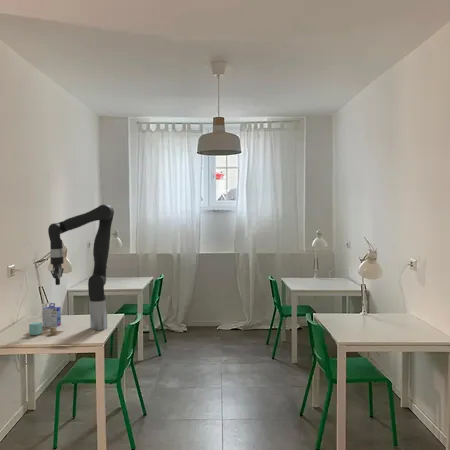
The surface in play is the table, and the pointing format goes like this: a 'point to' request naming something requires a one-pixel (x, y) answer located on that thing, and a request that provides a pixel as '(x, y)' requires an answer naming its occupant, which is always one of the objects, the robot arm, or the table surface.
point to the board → (44, 333)
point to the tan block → (53, 331)
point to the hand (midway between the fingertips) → (57, 284)
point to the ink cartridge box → (51, 316)
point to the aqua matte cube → (35, 328)
